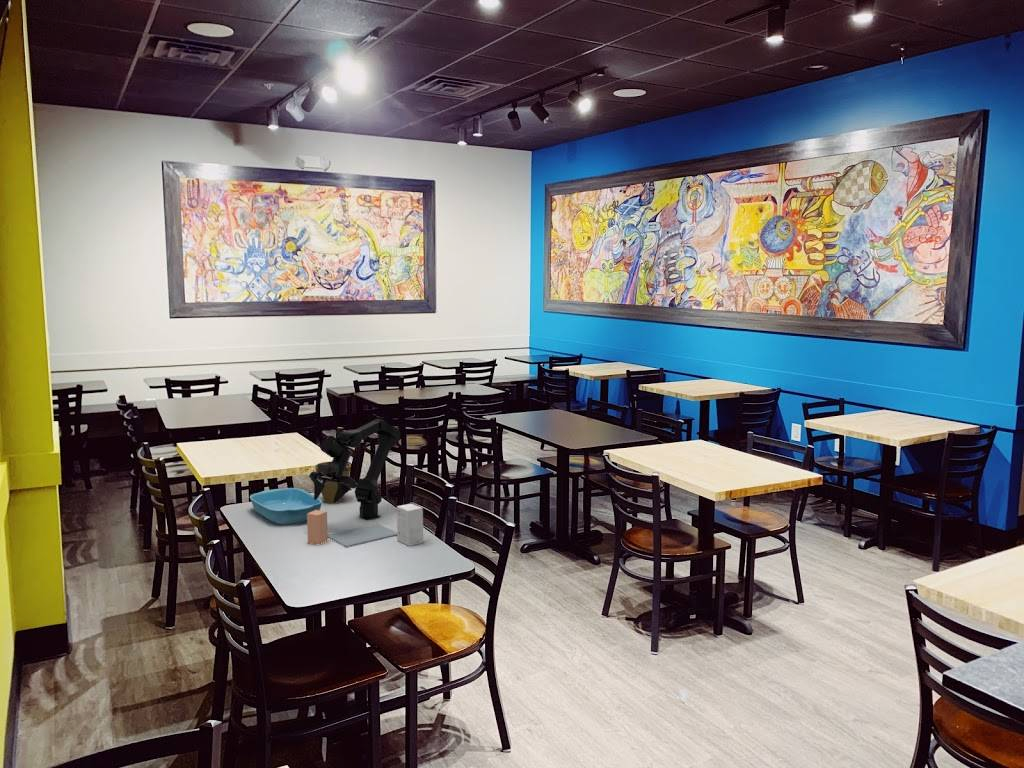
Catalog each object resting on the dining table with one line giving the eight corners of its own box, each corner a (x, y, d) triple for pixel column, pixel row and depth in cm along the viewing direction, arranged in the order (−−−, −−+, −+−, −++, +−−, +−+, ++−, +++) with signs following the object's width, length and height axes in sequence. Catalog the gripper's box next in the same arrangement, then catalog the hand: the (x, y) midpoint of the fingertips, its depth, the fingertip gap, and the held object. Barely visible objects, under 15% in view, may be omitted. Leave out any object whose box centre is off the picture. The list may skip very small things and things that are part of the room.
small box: (423, 542, 282) (423, 507, 280) (408, 546, 278) (408, 511, 276) (411, 537, 288) (411, 502, 286) (396, 540, 284) (396, 505, 282)
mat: (377, 524, 302) (377, 523, 302) (399, 535, 290) (399, 533, 290) (325, 536, 288) (325, 534, 288) (346, 547, 276) (346, 545, 276)
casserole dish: (243, 509, 324) (242, 492, 323) (294, 500, 337) (294, 484, 336) (276, 531, 295) (275, 513, 294) (331, 520, 308) (330, 503, 307)
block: (316, 539, 285) (315, 509, 284) (327, 540, 283) (326, 511, 282) (307, 543, 280) (306, 513, 279) (319, 545, 279) (318, 515, 277)
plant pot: (311, 505, 328) (310, 468, 326) (321, 496, 343) (320, 460, 341) (346, 506, 327) (345, 469, 326) (355, 496, 342) (354, 461, 340)
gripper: (308, 451, 293) (292, 490, 287) (346, 456, 284) (331, 496, 278) (325, 463, 302) (310, 500, 295) (363, 468, 293) (348, 507, 287)
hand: (324, 501), depth 289 cm, fingers open, 9 cm apart
